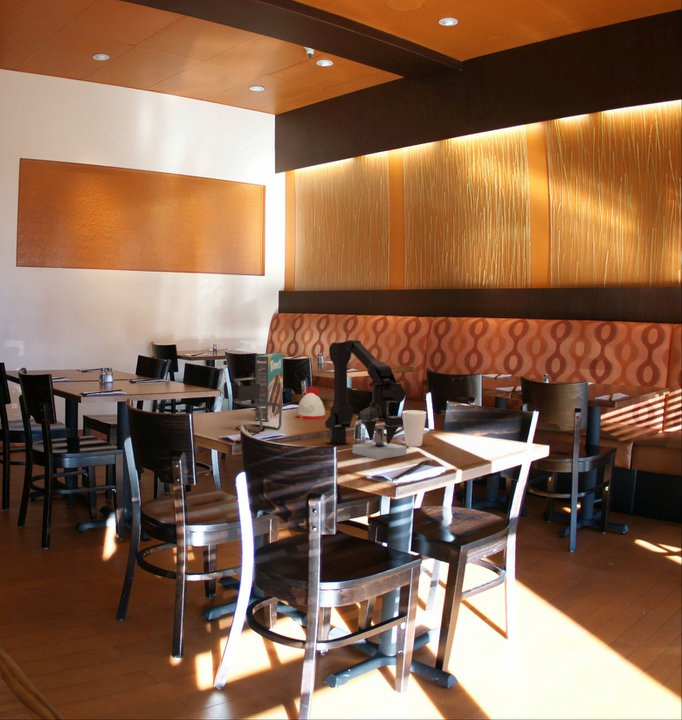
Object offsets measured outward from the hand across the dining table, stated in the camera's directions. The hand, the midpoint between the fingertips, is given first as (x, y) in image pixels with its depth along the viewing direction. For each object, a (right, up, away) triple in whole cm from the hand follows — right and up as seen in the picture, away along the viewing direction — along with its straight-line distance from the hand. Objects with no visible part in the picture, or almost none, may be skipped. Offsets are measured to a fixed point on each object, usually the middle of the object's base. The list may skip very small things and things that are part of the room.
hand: (379, 441), depth 280 cm
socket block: (0, -5, 0) cm, 4 cm away
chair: (-50, 0, +48) cm, 70 cm away
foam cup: (+14, -4, +19) cm, 24 cm away
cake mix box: (-48, +2, +81) cm, 94 cm away
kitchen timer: (-29, +2, +86) cm, 91 cm away
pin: (0, -5, 0) cm, 5 cm away
